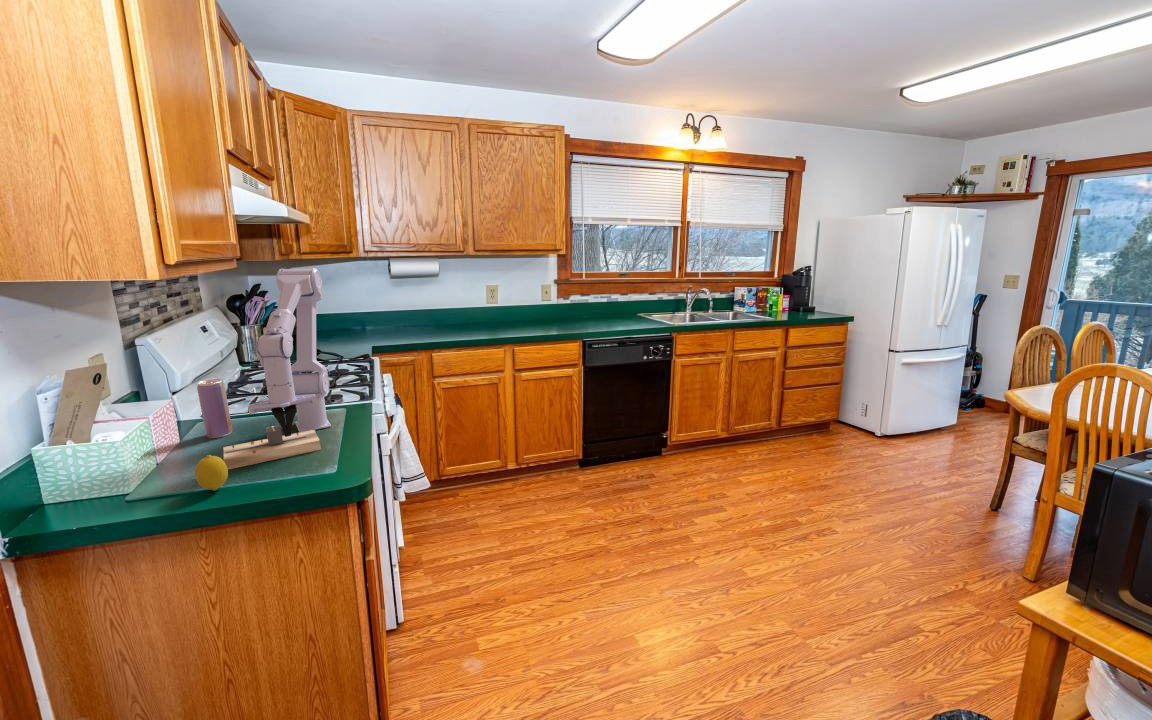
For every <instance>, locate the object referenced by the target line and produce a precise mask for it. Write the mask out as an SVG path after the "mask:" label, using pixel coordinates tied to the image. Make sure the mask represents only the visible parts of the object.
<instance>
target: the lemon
mask: <svg viewBox="0 0 1152 720" xmlns="http://www.w3.org/2000/svg"><path fill="white" fill-rule="evenodd" d="M194 476H195V480H196V482H197V484H198V485H199V486H200V487H201V488H203V489H205V490H206V489H207V490H211V491H213V492H214V491H217V490H218V489H219V488H220V487H222V486H223V485H224V484H225V483H226V481H227V479H228V477H229V469H227V466H226V464H225V462H224V459H223V458H222V457H220V456H217V455H211V454H207V455H206V456H205V457H203V458H202V459H200V460H199V461H198V462H197V465H196V466H195V475H194Z"/></svg>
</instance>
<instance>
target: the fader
mask: <svg viewBox="0 0 1152 720" xmlns="http://www.w3.org/2000/svg"><path fill="white" fill-rule="evenodd" d="M265 430H266V431H265V432H266V437H267V438H266V439H268V443H269V445H274V444H279V443H283V438H282V436H283V433H282V427H281V425H280V424H277V425H272V426H267V427H265Z"/></svg>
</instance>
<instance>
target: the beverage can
mask: <svg viewBox="0 0 1152 720" xmlns="http://www.w3.org/2000/svg"><path fill="white" fill-rule="evenodd" d="M196 385H197V388H196V389H197V395H198V401H199V404H200V410H201V414H202V415H201V416H202V421H203V426H204V430H205V435H206V437H207V438H209V439H219V438H224V437H227V436H229V435H231V434H232V432H233V425H232V420H231V415H230V407H229V402H228V397H227V390H226V386H225V382H224V380H223V379H222V378H211V379H206V380H201V381H199V382H197V384H196Z"/></svg>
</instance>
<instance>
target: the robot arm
mask: <svg viewBox="0 0 1152 720" xmlns="http://www.w3.org/2000/svg"><path fill="white" fill-rule="evenodd" d="M275 279H276V285H277V287H278V290H279V299H278V302H277V303H278V304H277V308H276V309H275V310H273V311H271V312H270V314H269V318H268V321H267V324H266V327H265V329H264V333H263V334H262V335H261V336H259V337H258V338H256V341H255V354H256V356H257V357H258V358H259V364H260V366H261V367H263V372H264V378H265V384H266V390H267V391H266V392H267V395H268V396H267V397H268V400H264V401H263V400H262V401H259V402H255V403H249V404H247V409H248V410H247V411H248V414H249V415H254V414H255V413H261V412H266V411H271V413H272V415H273V416H274V418H275V420H277V422H278V424H279V425H280V428H281V430H282V431H283V436H284V435H285V437H288V436H291V434H292V429H293V428H292V427H293V423H294V418H295V417H297V421H295V425H296V428H297V431H298V433H299V432H305V431H310V430H315V431H316V430H320V429H321V430H322V429H325V428H326V429H327V428H330V427H332V425H331V423H330V421H329V420H328V418H327V416H328V415H327V410H326V403H325V402H326V401H325V395H326V394H327V393H328V392H329V389H330V379H329V372H328V369H327V367H326V366H325V365H323V364H322V363H320V362H319V361H318V360H317V305H318V304H317V303H318V302H319V301H322V298H323V278H322V274H321V273H320V270H318V269H317V267H313V268H279V269H278V271H277V273H276V276H275ZM295 311H296V316H295V315H294V312H295ZM295 326H296V361H295V362H294V363H292V365H291V357H292V354H293V351H294V345H293V344H294V343H293V341H294V338H293V332H294V328H295ZM296 414H297V416H296Z"/></svg>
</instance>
